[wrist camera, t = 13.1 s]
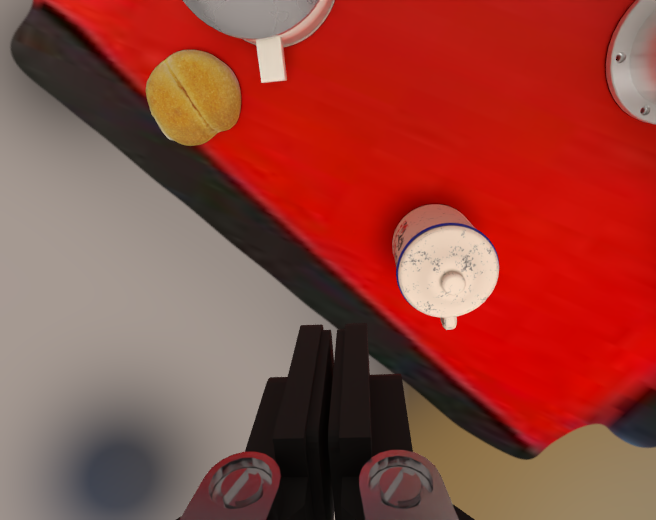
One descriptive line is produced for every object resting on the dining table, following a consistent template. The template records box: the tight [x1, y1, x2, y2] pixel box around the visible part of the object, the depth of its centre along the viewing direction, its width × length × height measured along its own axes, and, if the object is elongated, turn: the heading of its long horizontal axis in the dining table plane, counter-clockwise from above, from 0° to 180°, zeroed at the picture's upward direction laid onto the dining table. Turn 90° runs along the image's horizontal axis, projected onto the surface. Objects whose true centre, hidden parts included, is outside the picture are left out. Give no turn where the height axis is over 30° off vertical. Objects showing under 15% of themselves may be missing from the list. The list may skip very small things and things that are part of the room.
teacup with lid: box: [392, 204, 499, 330], centre depth 43 cm, size 12×9×12 cm
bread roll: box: [146, 50, 241, 146], centre depth 43 cm, size 8×9×4 cm
